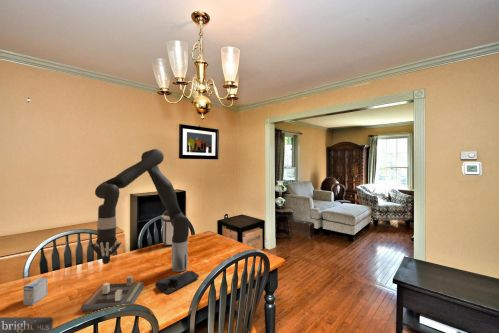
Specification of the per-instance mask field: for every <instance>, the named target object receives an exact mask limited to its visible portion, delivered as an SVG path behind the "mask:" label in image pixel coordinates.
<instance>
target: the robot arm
mask: <svg viewBox="0 0 499 333" xmlns="http://www.w3.org/2000/svg"><path fill="white" fill-rule="evenodd" d="M164 157H165V156H164V153H163V152H162V151H161V150H160V149H157V148H152V149H150V150H145V151H144V152H143V153H142V154H141V158H140V159H141V160H140V161H138V162H136V163H134V164H133V165H131V166H129V167H128V168H125V169H123V171H121V172H120V173H118V174H117V175H115V176H114V177H112V178H109V179H107V180H104V182H101V183H99V184H98V185H97V187H96V188H95V190H94V195H95V196H96V197H97V198H99V199H101V200H102V199H103V203H102V204H100V205H99V206H98V208H97V209H98V210H97V223H96V229H97V230H96V237H97V238H96V241H95V242H94V243H92V244H91V245H90V248H91V249H92V250H93V251H94V252H95V253H96V254H97V255H98V256H101V258H102V260H101V261H102V263H103V265H108V264H109V263H110V262H111V256H112V255H113V254H114V253H115V252H116V251H118V249H119V248H120V246H121V245H123V244H122V242H121V241H120V242H119V241H118V238H117V237H116V236H117V217H116V216H117V214H116V213H117V212H116V209H117V204H118V202H119V198H120V189H125V188H126V187H128V186H129V185H130V184H131V183H133V182H134V181H135V180H137V179H138V178H140V177H141V176H142V175H143V174H145V173H146V172H147V173H148V174H149V177H150V178H151V179H150V180H151V181H152V183H153V186H154V187H155V190H156V192H157V194H158V197H159V198H160V201H161V203H162V205H163V206H164V207H165V209H166V210H167V212H168V215H169V218H170V221H171V224H172V226H173V236H172V244H171V271H172V272H176V273H179V272H184V271H188V270H187V269H188V266H189V259H188V258H189V251H188V242H189V241H188V240H189V239H188V237H189V236H190V235H189V233H190V232H189V231H190V221H189V218H188V217H187V216H186V215H184V213H183V212H182V210H181V208H180V205H179V203H178V197H177V193H176V190H175V188H174V186H173V184H172V182H171V180H169V179H168V178H167V176H165V175H164V174H163V173H162V171H161V170H160V168H159V166H158V165H160V164H162V162H163V161H164ZM166 210H165V211H166ZM113 246H114V247H113Z"/></svg>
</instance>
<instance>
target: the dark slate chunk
mask: <svg viewBox="0 0 499 333" xmlns="http://www.w3.org/2000/svg"><path fill="white" fill-rule="evenodd" d="M198 278H200V276H199V274H198V273H196V272H195V271H193V270H186V271H185V272H184V271H183V272H182V273H179V274H174V275H170V276H167V277H164V278H161V279H159V280H157V281H155V284H154V286H155V287H156V289H157V290H158V291H159V292H160V293H164V294H166V295H169V294H171V293H173V292H176V291H178V290H180V289H182V288H183V287H184V286H187V285H188V284H190V283H193V282H194V281H195V280H197V279H198ZM170 287H171V288H170Z"/></svg>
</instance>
